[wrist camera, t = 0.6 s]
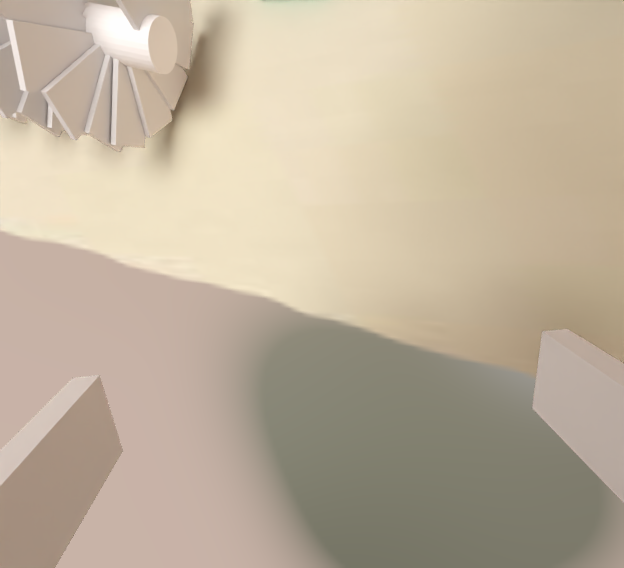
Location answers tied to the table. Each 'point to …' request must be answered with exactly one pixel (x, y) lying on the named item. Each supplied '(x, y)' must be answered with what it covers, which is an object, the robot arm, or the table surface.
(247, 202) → the table surface
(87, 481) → the robot arm
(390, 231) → the table surface
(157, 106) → the spiral staircase
